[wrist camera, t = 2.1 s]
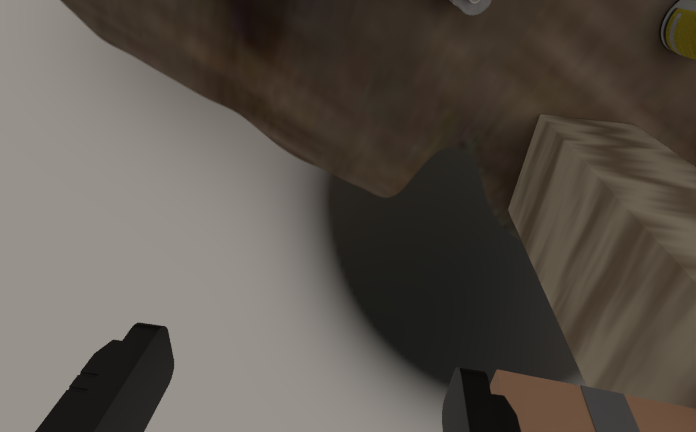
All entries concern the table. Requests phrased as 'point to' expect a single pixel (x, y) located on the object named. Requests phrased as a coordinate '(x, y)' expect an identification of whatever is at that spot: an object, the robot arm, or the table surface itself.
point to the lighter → (472, 6)
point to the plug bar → (586, 408)
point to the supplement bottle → (681, 29)
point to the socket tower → (614, 252)
